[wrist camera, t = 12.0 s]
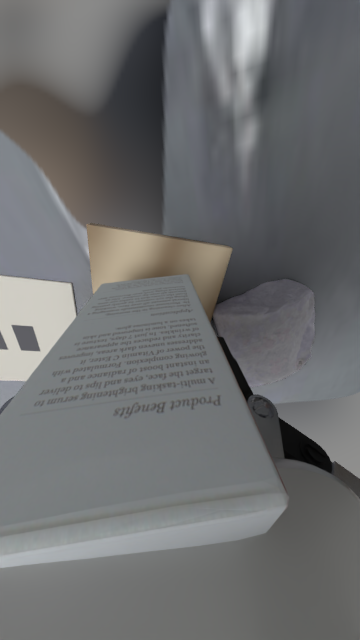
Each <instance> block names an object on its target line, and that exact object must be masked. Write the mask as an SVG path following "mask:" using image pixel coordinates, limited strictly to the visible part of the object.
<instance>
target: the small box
mask: <svg viewBox="0 0 360 640" xmlns="http://www.w3.org/2000/svg"><path fill="white" fill-rule="evenodd" d="M288 502H289V495H288V493H287V490H286V488H285V486H284V483H283V481H282V479H281V476H280V474H279V472H278V469H277V467H276V465H275V463H274V461H273V459H272V457H271V455H270V453H269V450H268V448H267V446H266V444H265V442H264V439H263V437H262V435H261V433H260V430H259V428H258V426H257V424H256V421H255V419H254V417H253V415H252V413H251V410H250V408H249V406H248V404H247V402H246V400H245V397H244V395H243V393H242V391H241V389H240V387H239V385H238V383H237V380H236V378H235V376H234V373H233V371H232V369H231V367H230V364H229V362H228V360H227V358H226V356H225V353H224V351H223V349H222V347H221V344H220V342H219V340H218V338H217V336H216V334H215V331H214V330H213V328H212V326H211V324H210V321H209V319H208V317H207V314H206V312H205V310H204V307H203V305H202V303H201V301H200V298H199V296H198V294H197V292H196V290H195V288H194V286H193V283H192V281H191V279H190V276H189V275H188V274H183V275H174V276H165V277H156V278H147V279H138V280H129V281H120V282H113V283H104V284H101V285H100V287H99V288H98V289H97V291H96V292H95V293H94V295H93V296H92V297H91V299H90V300H89V301H88V302H87V304H86V305H85V306H84V307H83V309H82V310H81V311H80V313H79V314H78V315H77V316H76V318H75V319H74V320H73V322H72V323H71V324H70V325H69V327H68V328H67V329H66V330H65V332H64V333H63V334H62V336H61V337H60V338H59V339H58V341H57V342H56V343H55V345H54V346H53V347H52V349H51V350H50V351H49V353H48V354H47V355H46V356H45V357H44V359H43V360H42V361H41V363H40V364H39V365H38V367H37V368H36V369H35V370H34V372H33V373H32V374H31V376H30V377H29V378H28V380H27V381H26V382H25V384H24V385H23V386H22V388H21V389H20V390H19V391H18V393H17V394H16V395H15V397H14V398H13V399H12V400H11V402H10V403H9V404H8V405H7V407H6V408H5V409H4V411H3V412H2V413H1V415H0V568H5V567H13V566H21V565H30V564H40V563H50V562H59V561H69V560H80V559H89V558H97V557H106V556H114V555H123V554H131V553H140V552H149V551H158V550H167V549H176V548H185V547H193V546H202V545H209V544H216V543H223V542H229V541H236V540H241V539H245V538H248V537H252V536H256V535H260V534H264V533H266V532H267V531H268V530H269V529H270V528H271V527H272V525H273V524H274V523H275V522H276V520H277V519H278V518H279V517H280V515H281V514H282V513H283V512H284V511H285V509H286V508H287V506H288Z"/></svg>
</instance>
